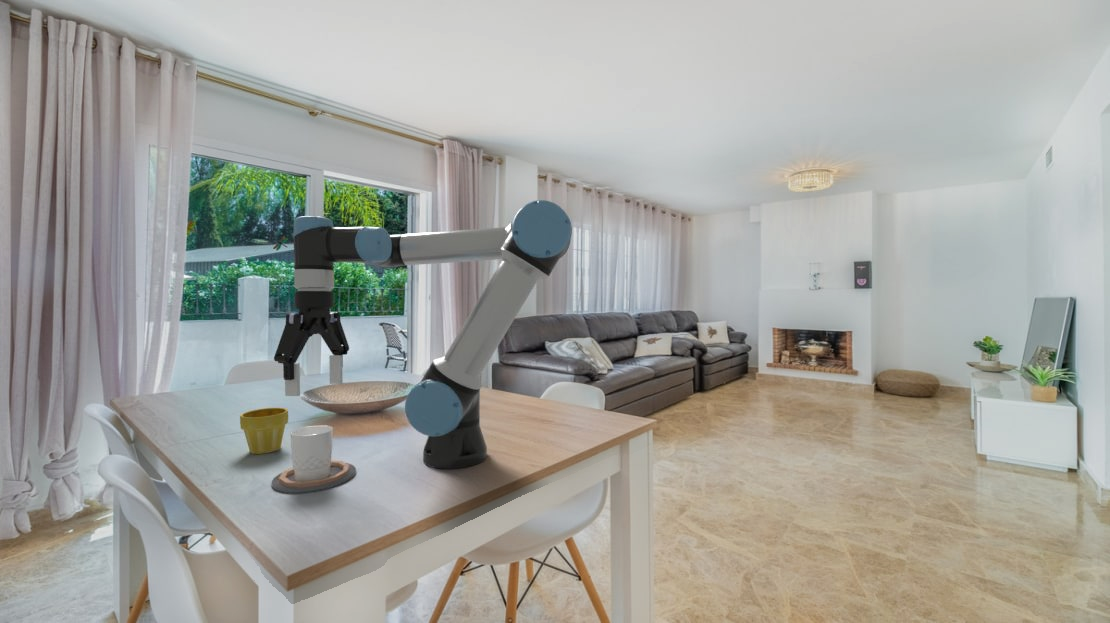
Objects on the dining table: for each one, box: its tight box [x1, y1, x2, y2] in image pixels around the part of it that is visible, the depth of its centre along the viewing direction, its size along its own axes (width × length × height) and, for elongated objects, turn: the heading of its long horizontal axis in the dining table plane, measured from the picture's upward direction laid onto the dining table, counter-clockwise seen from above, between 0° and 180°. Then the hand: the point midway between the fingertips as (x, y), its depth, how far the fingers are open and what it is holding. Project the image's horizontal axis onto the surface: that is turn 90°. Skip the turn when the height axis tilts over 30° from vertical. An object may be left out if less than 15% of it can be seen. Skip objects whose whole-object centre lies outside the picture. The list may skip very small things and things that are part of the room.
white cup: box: [290, 424, 334, 482], centre depth 96 cm, size 8×8×10 cm
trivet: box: [271, 460, 357, 494], centre depth 98 cm, size 16×16×1 cm
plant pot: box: [239, 407, 289, 455], centre depth 115 cm, size 10×10×10 cm
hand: (315, 389), depth 97 cm, fingers open, 13 cm apart
